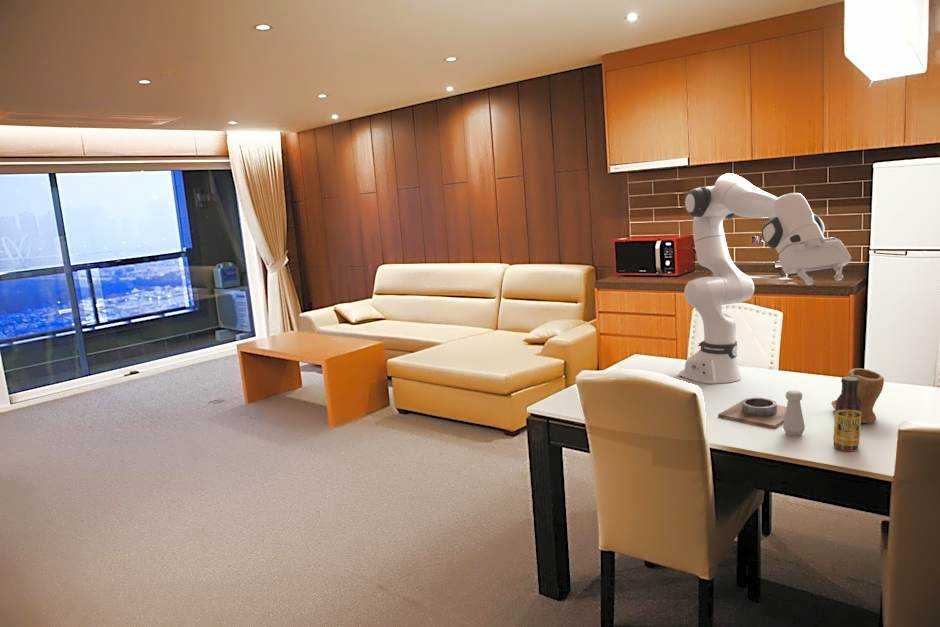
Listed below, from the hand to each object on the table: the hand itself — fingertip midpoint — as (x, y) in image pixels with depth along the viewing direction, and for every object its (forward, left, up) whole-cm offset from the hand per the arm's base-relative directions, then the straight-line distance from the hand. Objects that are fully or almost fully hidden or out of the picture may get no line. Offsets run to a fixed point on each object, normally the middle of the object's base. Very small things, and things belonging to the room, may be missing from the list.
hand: (825, 281), depth 195 cm
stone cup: (+6, +11, -43) cm, 45 cm away
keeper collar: (-18, -3, -43) cm, 47 cm away
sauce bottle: (+12, -15, -43) cm, 47 cm away
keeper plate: (-18, -3, -43) cm, 47 cm away
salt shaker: (-3, -13, -43) cm, 45 cm away
